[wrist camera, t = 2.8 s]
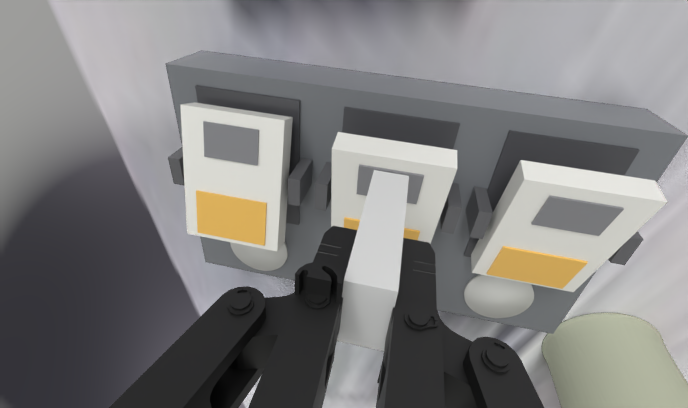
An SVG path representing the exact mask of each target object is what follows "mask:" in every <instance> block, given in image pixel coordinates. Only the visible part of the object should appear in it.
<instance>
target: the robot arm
mask: <svg viewBox="0 0 688 408" xmlns="http://www.w3.org/2000/svg"><path fill="white" fill-rule="evenodd" d="M408 182H409V176H407V175H401V174H395V173H389V172H383V171H377V170H374V172H373V175H372V179H371V183H370V186H369V190H368V194H367V197H366V201H365V205H364V208H363V212H362V216H361V219H360V223H359V227H358V230H354V229H349V228H343V227H338V226H332V227H331V228H330V229H329V230H327V231H326V232H325V233H324V235H323V238H322V240H321V243H320V245H319V248H318V250H317V253H316V255H315V258H314V260H313V262H312V263H308V264H305V265H304V266H302V267H300V268H299V269H298V270H297V272H296V273H295V292H294V293H293V294H290V295H287V296H282V297H271V298H264V296H263V294H262V293H261V292H260V291H258V290H257V289H255V288H251V287H237V288H234V289H231V290H229V291H228V292H226V293H225V294H223V295H222V296H221V297H220V298H219V299H218V300H217V301H216V302H215V303H214V304H213V305H212V306H211V307H210V308H209V309H208V310H207V311H206V312H205V313H204V314H203V315H202V316H201V317H200V318H199V319H198V320H197V321H196V322H195V323H194V324H193V325H192V326H191V327H190V328H189V329H188V330H187V331H186V332H185V333H184V334H183V335H182V336H181V337H180V338H179V339H178V340H177V341H176V342H175V343H174V344H173V345H172V346H171V347H170V348H169V349H168V350H167V351H166V352H165V353H164V354H163V355H162V356H161V357H160V358H159V359H158V360H157V361H156V362H155V363H154V364H153V365H152V366H151V367H150V368H149V369H148V370H147V371H146V372H145V373H144V374H143V375H142V376H141V377H140V378H139V379H138V380H137V381H136V382H135V383H134V384H133V385H132V386H131V387H130V388H129V389H127V390H126V392H124V394H123V395H122V396H121V397H119V399H117V401H115V402H114V404H112V405H111V406H110V407H109V408H239V406H240V405H241V403H242V402H243V400H244V399H245V398H246V396H247V395H248V393H249V392H250V390H251V389H252V388H253V386H254V385H255V383H256V382H257V380H258V379H259V378H260V376H261V375H262V376H261V378H260V381H259V383H258V386H257V388H256V391H255V393H254V395H253V398H252V400H251V403H250V405H249V408H322V405H323V401H324V397H325V393H326V389H327V384H328V380H329V376H330V372H331V368H332V364H333V360H334V352H335V346H336V342H337V341H339V342H343V343H347V344H352V345H356V346H361V347H365V348H370V349H374V350H378V351H383V352H384V356H383V362H382V366H381V370H380V374H379V378H378V382H377V383H379V387H378V395H377V403H376V408H544V407H543V404H542V402H541V400H540V398H539V396H538V394H537V392H536V390H535V388H534V386H533V384H532V382H531V380H530V378H529V376H528V374H527V372H526V370H525V368H524V366H523V363H522V361H521V360H520V358H519V357H518V355H517V354H516V352H515V351H514V350H513V349H512V348H511V347H509V346H508V345H507V344H506V343H504V342H502V341H500V340H498V339H496V338H490V337H482V338H477V339H476V340H475V341H473V342H472V341H470V340H468V339H466V338H464V337H462V336H460V335H458V334H456V333H455V332H453V331H451V330H450V329H449V328H448V327H447V326H446V325H445V324H444V323H443V322H442V320H441V319H440V317H439V315H438V312H437V300H436V275H435V274H436V266H435V264H436V262H435V252H434V250H433V248H432V247H431V245H430V243H429V242H423V241H418V240H413V239H407V238H403V236H404V225H405V214H406V204H407V193H408Z"/></svg>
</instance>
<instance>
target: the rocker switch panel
mask: <svg viewBox="0 0 688 408" xmlns="http://www.w3.org/2000/svg"><path fill="white" fill-rule="evenodd" d="M166 69H167V73H168V78H169V83H170V88H171V93H172V98H173V103H174V108H175V113H176V118H177V123H178V128H179V133H180V138H181V143H182V127H181V108H180V105H181V104H187V103H194V102H195V103H202V104H208V105H215V106H222V107H228V108H235V109H242V110H248V111H255V112H262V113H268V114H275V115H282V116H288V117H293V120H292V136H291V152H290V167H289V177H288V198H287V214H286V230H285V242H284V243H283V244H282V246H281V247H280V249H279V250H278V251H272V250H267V249H262V248H257V247H252V246H247V245H242V244H237V243H232V242H227V241H222V240H217V239H212V238H207V237H201V236H200V237H201V242H202V247H203V252H204V257H205V262H208V263H213V264H218V265H222V266H227V267H232V268H237V269H242V270H247V271H251V272H256V273H261V274H266V275H271V276H276V277H280V278H285V279H290V280H295V273H296V272H297V270H298V269H299V268H300V267H302V266H304V265H305V264H308V263H312V262H313V260H314V258H315V255H316V253H317V250H318V248H319V245H320V243H321V240H322V238H323V235H324V233H325V232H326V231H327V230H329V229H330V228H331V181H332V147H333V144H334V141H335V139H336V136H337V133H338V132H342V133H348V134H355V135H361V136H368V137H374V138H381V139H387V140H394V141H400V142H407V143H413V144H420V145H427V146H433V147H440V148H446V149H453V150H457V171H456V174H455V177H454V180H453V182H452V185H451V188H450V191H449V194H448V196H447V199H446V202H445V205H444V208H443V210H442V213H441V216H440V219H439V221H438V224H437V227H436V230H435V233H434V235H433V238H432V241H431V244H430V245H431V247H432V248H433V250H434V252H435V262H436V264H435V266H436V274H435V275H436V300H437V310H440V311H445V312H450V313H454V314H459V315H464V316H469V317H474V318H479V319H483V320H488V321H493V322H498V323H503V324H508V325H512V326H517V327H522V328H527V329H532V330H537V331H542V332H546V333H551V334H554V332H555V331H556V329H557V328H558V326H559V325H560V323H561V322H562V320H563V319H564V317H565V316H566V314H567V313H568V312H569V310H570V309H571V307H572V306H573V304H574V303H575V301H576V300H577V298H578V297H579V295H580V294H581V293H582V291H583V290H584V288H585V287H586V285H587V284H588V282H589V281H590V279H591V278H592V276H593V275H594V273H595V272H596V271H597V270H596V271H595V272H594V273H593V274H592V275H591V276H590V277H589V278H588V279H587V280H586V281H585V282H584V283H583V284H582V285H581V286H579V287H578V288H577V289H576V290H575V291H574V292H569V291H564V290H559V289H554V288H548V287H543V286H538V285H533V284H528V283H522V282H517V281H512V280H507V279H502V278H496V277H491V276H486V275H481V274H476V273H472V266H471V254H472V252H473V250H474V248H475V246H476V244H477V242H478V240H479V239H483V237H484V234H485V232H486V229H487V227H488V224H489V222H490V219H491V217H492V214H493V212H494V210H495V208H496V206H497V204H498V202H499V200H500V198H501V196H502V194H503V192H504V191H505V189H506V187H507V185H508V183H509V181H510V179H511V177H512V175H513V173H514V171H515V169H516V168H517V166H518V164H519V162H520V160H524V161H531V162H538V163H544V164H551V165H557V166H564V167H570V168H577V169H583V170H590V171H596V172H603V173H609V174H616V175H622V176H629V177H635V178H642V179H648V180H655V181H656V183H657V181H658V180H659V178H660V177H661V175H662V174H663V172H664V171H665V169H666V168H667V166H668V165H669V164H670V162H671V161H672V159H673V158H674V156H675V155H676V153H677V152H678V150H679V149H680V147H681V146H682V144H683V143H684V142H685V140H686V139H687V137H688V135H686V134H685V133H683V132H682V131H680V130H678V129H677V128H675V127H674V126H672V125H671V124H669V123H668V122H666V121H665V120H663V119H661V118H660V117H658V116H657V115H655V114H654V113H652V112H651V111H649V110H648V109H642V108H634V107H626V106H619V105H611V104H604V103H596V102H588V101H581V100H573V99H566V98H558V97H550V96H543V95H535V94H528V93H520V92H512V91H505V90H497V89H490V88H482V87H474V86H467V85H459V84H452V83H444V82H436V81H429V80H421V79H414V78H406V77H398V76H391V75H383V74H376V73H368V72H360V71H353V70H345V69H338V68H330V67H322V66H315V65H307V64H300V63H292V62H284V61H277V60H269V59H262V58H254V57H246V56H239V55H231V54H224V53H216V52H208V51H199V52H196V53H193V54H191V55H188V56H185V57H182V58H180V59H177V60H174V61H172V62H169V63H166ZM168 160H169V164H170V169H171V173H172V177H173V182H174V184H179V185H185V184H184V165H183V146H182V148H180V149H179V150H178V151H176V152H175V153H174V154H172V155H171V156H169V157H168ZM642 241H643V238H642V237H641V236H640V234H639V233H638V232H636V233H635V234H634V235H633V236H632V237H631V238H630V239H629V240H628V241H627V242H625V243H624V244H623V245H622V246H621V247H620V248H619V249H618V250H617V251H616V252H615V253H614V254H613V255H612V256H611V257H610V258H609V261H610V262H611V263H616V264H622V265H625V264H626V262H627V261H628V260H629V258H630V257H631V256H632V254H633V253H634V251H635V250H636V249H637V247H638V246H639V245H640V243H641V242H642Z"/></svg>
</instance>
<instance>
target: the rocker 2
mask: <svg viewBox="0 0 688 408" xmlns="http://www.w3.org/2000/svg"><path fill="white" fill-rule="evenodd" d="M666 203H667V200H666V198H665V197H664V195H663V193H662V191H661V190H660V188H659V186H658V184H657V183H656V181H655V180H648V179H642V178H635V177H629V176H622V175H616V174H609V173H603V172H596V171H590V170H583V169H577V168H570V167H564V166H557V165H551V164H544V163H538V162H531V161H524V160H520V162H519V164H518V166H517V168H516V169H515V171H514V173H513V175H512V177H511V179H510V181H509V183H508V185H507V187H506V189H505V191H504V192H503V194H502V196H501V198H500V200H499V202H498V204H497V206H496V208H495V210H494V212H493V214H492V217H491V219H490V222H489V224H488V227H487V229H486V232H485V234H484V237H483V239H479V240H478V242H477V244H476V246H475V248H474V250H473V252H472V254H471V266H472V273H476V274H481V275H486V276H491V277H496V278H502V279H507V280H512V281H517V282H522V283H528V284H533V285H538V286H543V287H548V288H554V289H559V290H564V291H569V292H574V291H575V290H576V289H577V288H578V287H579V286H581V285H582V284H583V283H584V282H585V281H586V280H587V279H588V278H589V277H590V276H591V275H592V274H593V273H594V272H595V271H596V270H597V269H598V268H599V267H600V266H601V265H602V264H604V263H605V262H606V261H607V260H608V259H609V258H610V257H611V256H612V255H613V254H614V253H615V252H616V251H617V250H618V249H619V248H620V247H621V246H622V245H623V244H624V243H625V242H627V241H628V240H629V239H630V238H631V237H632V236H633V235H634V234H635V233H636V232H637V231H638V230H639V229H640V228H641V227H642V226H643V225H644V224H645V223H646V222H647V221H648V220H650V219H651V218H652V217H653V216H654V215H655V214H656V213H657V212H658V211H659V210H660V209H661V208H662V207H663V206H664V205H665V204H666Z"/></svg>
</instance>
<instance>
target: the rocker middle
mask: <svg viewBox="0 0 688 408" xmlns="http://www.w3.org/2000/svg"><path fill="white" fill-rule="evenodd" d="M374 170H377V171H383V172H389V173H395V174H401V175H407V176H409V182H408V193H407V204H406V214H405V225H404V236H403V238H407V239H413V240H418V241H423V242H429V243H430V244H431V241H432V238H433V235H434V233H435V230H436V227H437V224H438V221H439V219H440V216H441V213H442V210H443V208H444V205H445V202H446V199H447V196H448V194H449V191H450V188H451V185H452V182H453V180H454V177H455V174H456V171H457V150H453V149H446V148H440V147H433V146H427V145H420V144H413V143H407V142H400V141H394V140H387V139H381V138H374V137H368V136H361V135H355V134H348V133H342V132H338V133H337V136H336V139H335V141H334V144H333V147H332V181H331V227H332V226H338V227H343V228H349V229H354V230H358V227H359V223H360V219H361V216H362V212H363V208H364V205H365V201H366V197H367V194H368V190H369V186H370V183H371V179H372V175H373V172H374Z"/></svg>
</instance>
